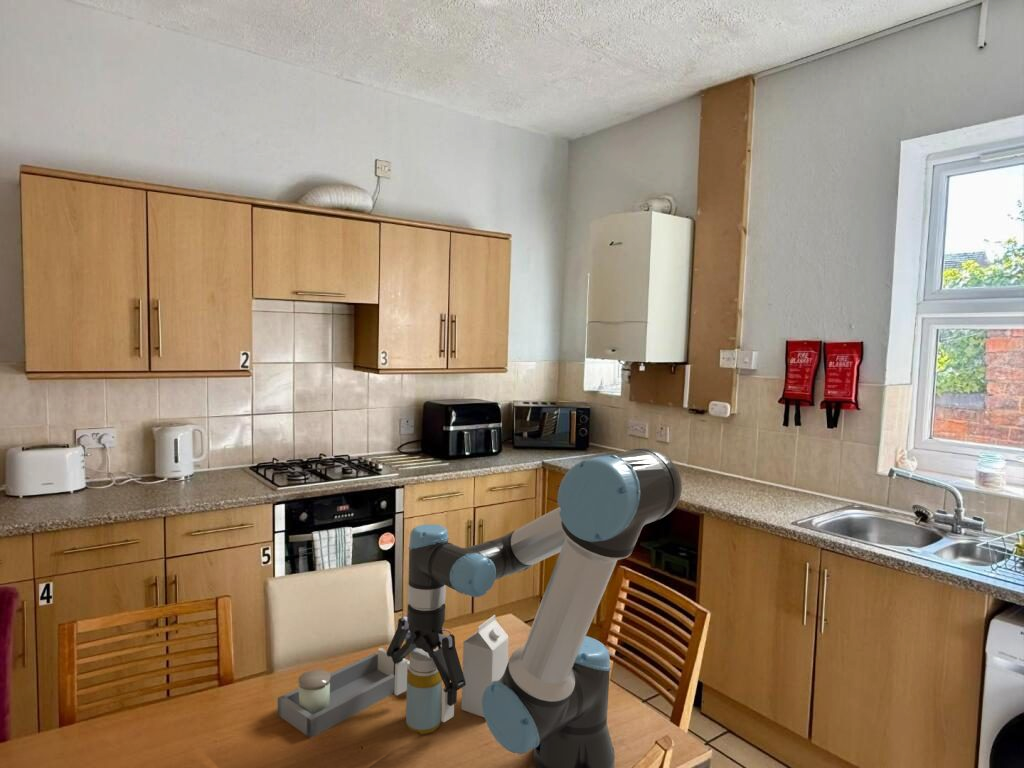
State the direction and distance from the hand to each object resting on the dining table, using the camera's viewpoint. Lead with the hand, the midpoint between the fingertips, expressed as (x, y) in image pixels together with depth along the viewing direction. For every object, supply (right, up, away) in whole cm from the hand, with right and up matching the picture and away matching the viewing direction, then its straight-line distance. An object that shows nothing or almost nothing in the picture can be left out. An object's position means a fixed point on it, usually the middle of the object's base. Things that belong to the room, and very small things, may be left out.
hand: (423, 705), depth 129 cm
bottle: (0, -4, 0) cm, 4 cm away
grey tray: (-18, -3, +7) cm, 19 cm away
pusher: (-7, -2, +15) cm, 17 cm away
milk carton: (+12, -4, +7) cm, 15 cm away
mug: (-3, -3, +23) cm, 23 cm away
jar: (-22, -3, +1) cm, 22 cm away
